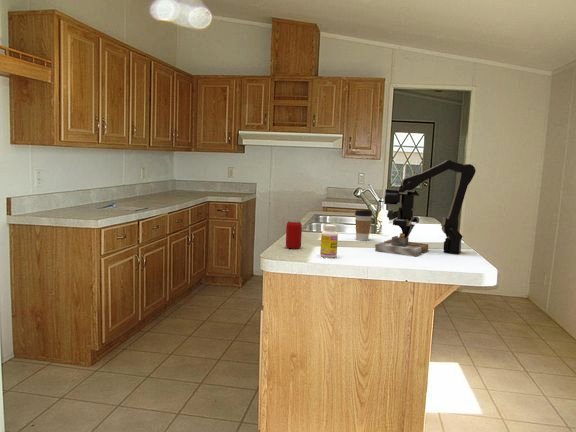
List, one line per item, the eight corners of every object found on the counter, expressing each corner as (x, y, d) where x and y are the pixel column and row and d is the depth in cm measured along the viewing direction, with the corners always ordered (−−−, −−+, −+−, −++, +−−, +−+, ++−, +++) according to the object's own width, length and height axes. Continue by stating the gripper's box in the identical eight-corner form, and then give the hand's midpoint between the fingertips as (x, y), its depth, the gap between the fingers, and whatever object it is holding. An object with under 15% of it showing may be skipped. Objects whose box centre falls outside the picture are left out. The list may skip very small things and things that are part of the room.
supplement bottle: (330, 258, 194) (331, 226, 193) (317, 256, 198) (318, 224, 197) (340, 256, 199) (341, 225, 198) (326, 254, 204) (328, 223, 202)
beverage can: (301, 247, 219) (302, 220, 217) (300, 249, 212) (301, 222, 211) (286, 246, 219) (287, 219, 218) (284, 248, 213) (285, 221, 211)
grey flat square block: (428, 250, 221) (429, 236, 220) (415, 256, 205) (416, 241, 205) (389, 245, 230) (390, 232, 229) (375, 251, 215) (376, 236, 214)
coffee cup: (371, 241, 241) (373, 211, 239) (354, 241, 241) (356, 210, 239) (369, 239, 249) (371, 209, 247) (352, 238, 249) (354, 209, 247)
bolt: (407, 243, 219) (408, 233, 218) (402, 245, 213) (402, 234, 212) (401, 242, 220) (401, 232, 220) (395, 244, 214) (396, 234, 214)
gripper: (397, 202, 231) (395, 235, 232) (382, 205, 215) (380, 240, 217) (420, 204, 225) (418, 238, 226) (407, 207, 209) (405, 243, 211)
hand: (405, 239), depth 220 cm, fingers closed
